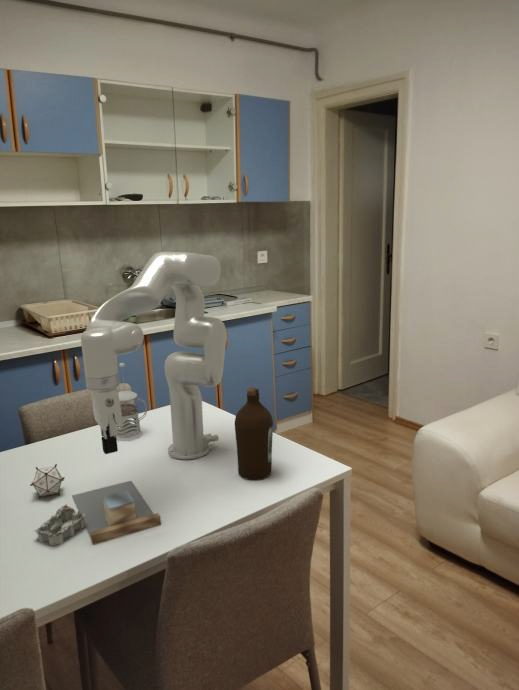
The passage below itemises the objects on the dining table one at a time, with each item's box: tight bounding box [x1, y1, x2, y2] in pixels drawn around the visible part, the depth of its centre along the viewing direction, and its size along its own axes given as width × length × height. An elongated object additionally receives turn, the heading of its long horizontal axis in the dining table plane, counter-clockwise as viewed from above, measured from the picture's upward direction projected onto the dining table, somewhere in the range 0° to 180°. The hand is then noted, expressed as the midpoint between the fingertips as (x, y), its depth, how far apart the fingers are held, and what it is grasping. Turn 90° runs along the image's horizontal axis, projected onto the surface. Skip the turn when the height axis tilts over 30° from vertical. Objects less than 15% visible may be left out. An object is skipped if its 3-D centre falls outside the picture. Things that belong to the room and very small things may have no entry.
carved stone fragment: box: [34, 503, 87, 546], centre depth 131 cm, size 11×8×4 cm
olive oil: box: [234, 386, 274, 481], centre depth 156 cm, size 11×11×25 cm
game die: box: [29, 463, 66, 499], centre depth 148 cm, size 9×8×10 cm
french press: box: [115, 362, 148, 442], centre depth 184 cm, size 10×12×25 cm
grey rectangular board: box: [71, 480, 155, 540], centre depth 142 cm, size 16×24×1 cm
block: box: [103, 491, 136, 527], centre depth 135 cm, size 6×6×6 cm
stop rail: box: [90, 512, 162, 545], centre depth 131 cm, size 16×2×2 cm, turn 118°
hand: (110, 451), depth 137 cm, fingers closed
